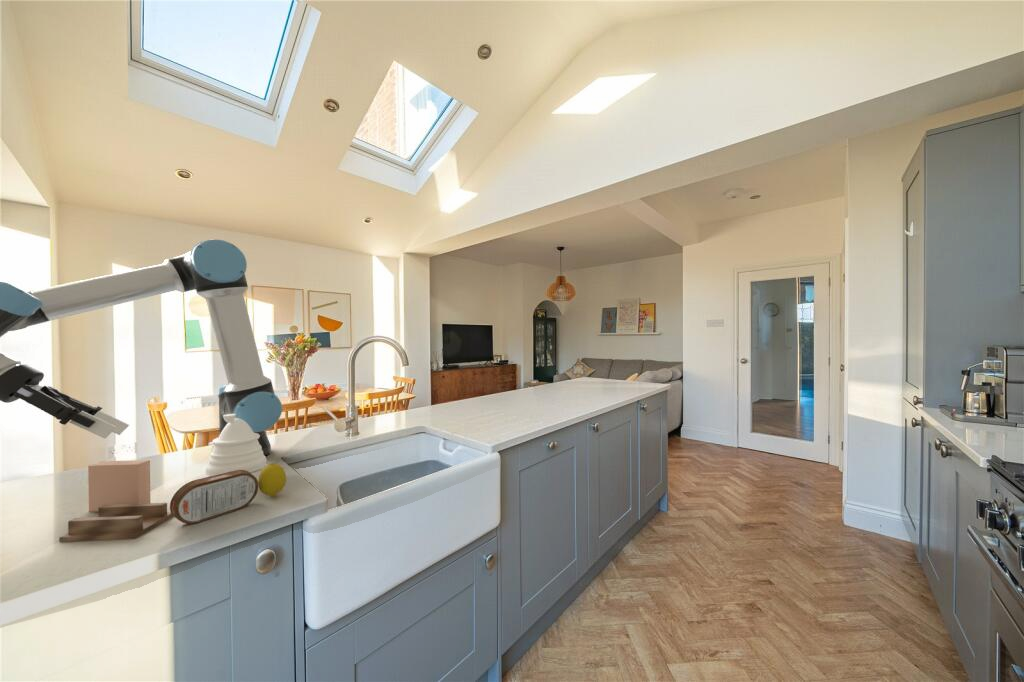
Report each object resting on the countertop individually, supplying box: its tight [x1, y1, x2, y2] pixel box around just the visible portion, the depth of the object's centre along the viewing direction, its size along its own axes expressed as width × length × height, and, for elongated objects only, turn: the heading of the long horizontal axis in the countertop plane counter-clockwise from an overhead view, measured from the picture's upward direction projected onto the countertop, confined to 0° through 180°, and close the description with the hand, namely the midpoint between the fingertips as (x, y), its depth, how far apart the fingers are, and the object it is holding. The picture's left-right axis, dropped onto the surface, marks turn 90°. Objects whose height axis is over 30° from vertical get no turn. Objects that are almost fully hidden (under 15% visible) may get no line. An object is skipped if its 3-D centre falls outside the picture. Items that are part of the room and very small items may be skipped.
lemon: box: [258, 462, 287, 498], centre depth 90 cm, size 6×6×8 cm
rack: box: [58, 502, 174, 543], centre depth 75 cm, size 13×9×3 cm
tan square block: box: [87, 459, 151, 513], centre depth 85 cm, size 10×3×10 cm, turn 95°
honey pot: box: [205, 414, 267, 480], centre depth 99 cm, size 13×13×18 cm
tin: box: [169, 470, 259, 524], centre depth 81 cm, size 15×3×8 cm, turn 146°
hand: (118, 431), depth 87 cm, fingers open, 13 cm apart
